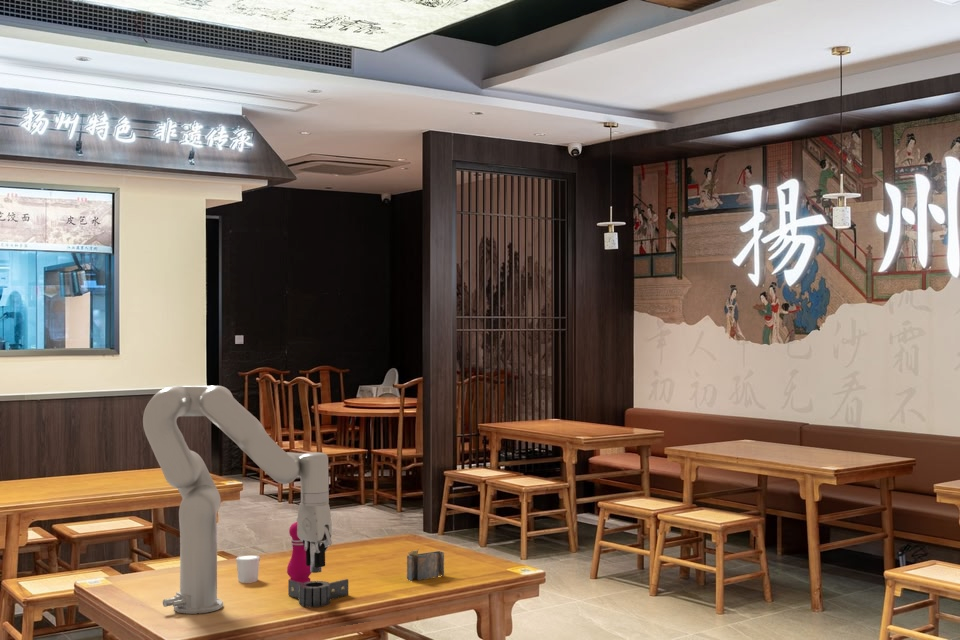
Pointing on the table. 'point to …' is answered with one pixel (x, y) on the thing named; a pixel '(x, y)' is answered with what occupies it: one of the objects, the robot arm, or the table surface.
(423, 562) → the rusty metal bracket
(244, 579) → the white cup
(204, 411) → the robot arm
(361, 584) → the table surface
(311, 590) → the hinge
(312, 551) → the hinge pin
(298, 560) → the pepper mill
